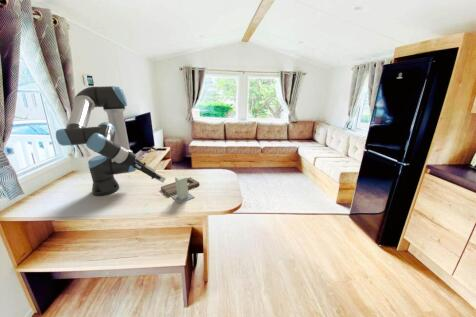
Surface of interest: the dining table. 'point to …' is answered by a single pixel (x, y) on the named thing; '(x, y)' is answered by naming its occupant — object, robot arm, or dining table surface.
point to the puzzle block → (181, 187)
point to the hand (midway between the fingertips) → (159, 176)
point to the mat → (182, 199)
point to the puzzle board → (171, 188)
